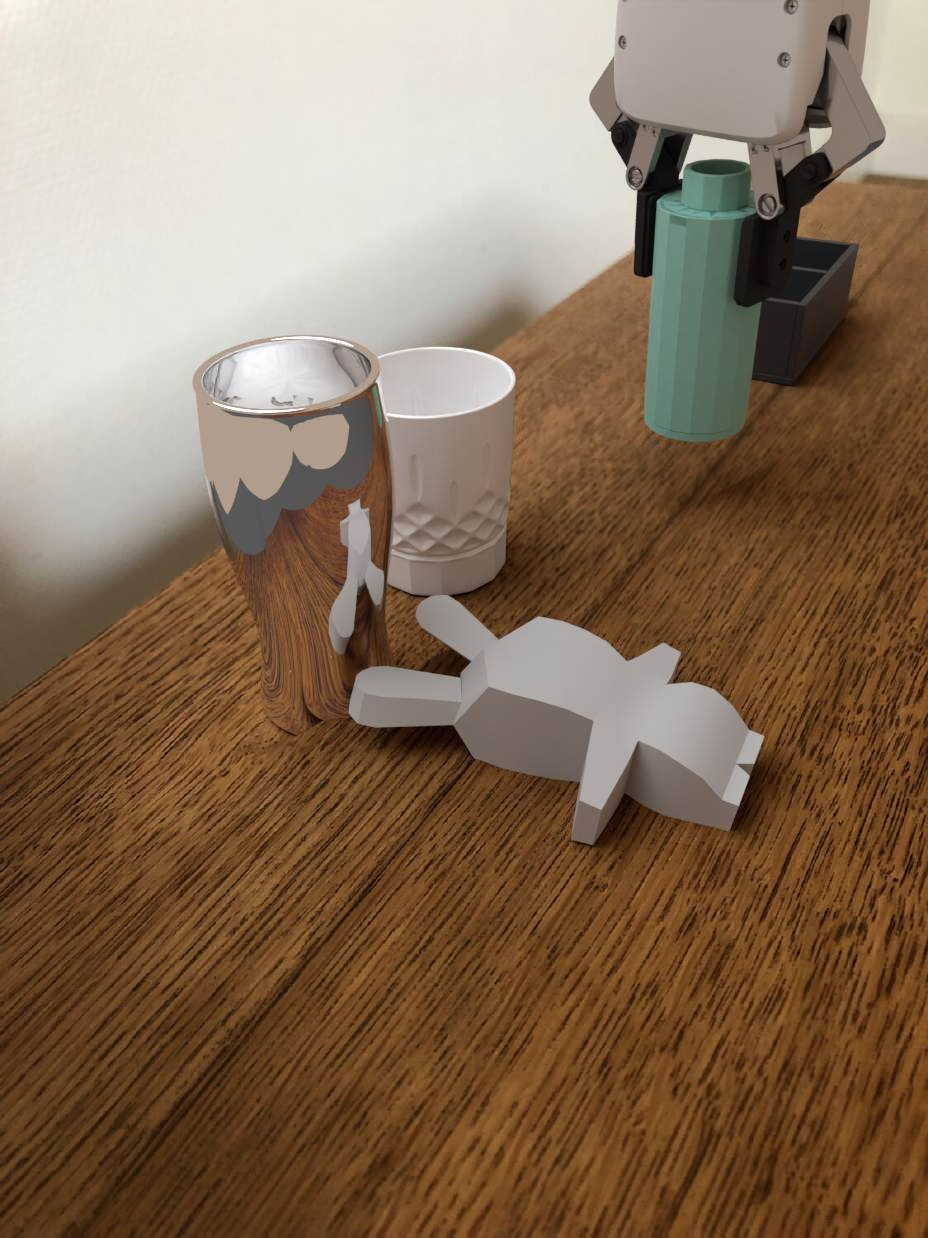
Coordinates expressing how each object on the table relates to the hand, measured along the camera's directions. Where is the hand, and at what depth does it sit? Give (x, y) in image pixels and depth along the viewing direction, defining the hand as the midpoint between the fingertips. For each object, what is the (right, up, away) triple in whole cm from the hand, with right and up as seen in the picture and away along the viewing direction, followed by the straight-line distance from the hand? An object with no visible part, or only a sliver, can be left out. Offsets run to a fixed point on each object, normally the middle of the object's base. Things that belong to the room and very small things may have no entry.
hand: (707, 279), depth 49 cm
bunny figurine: (-8, -22, -8) cm, 25 cm away
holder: (+11, +4, +25) cm, 28 cm away
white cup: (-13, -13, +4) cm, 19 cm away
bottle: (0, -6, +4) cm, 7 cm away
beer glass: (-18, -20, -4) cm, 27 cm away
